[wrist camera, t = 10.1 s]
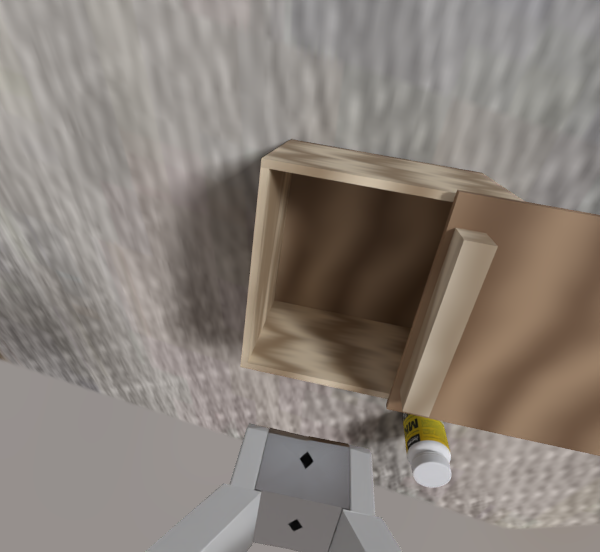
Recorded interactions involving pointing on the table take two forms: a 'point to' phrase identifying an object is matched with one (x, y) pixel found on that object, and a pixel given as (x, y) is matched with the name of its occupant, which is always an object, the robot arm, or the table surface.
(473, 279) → the lid
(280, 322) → the box
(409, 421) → the supplement bottle
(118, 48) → the table surface
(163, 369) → the table surface
